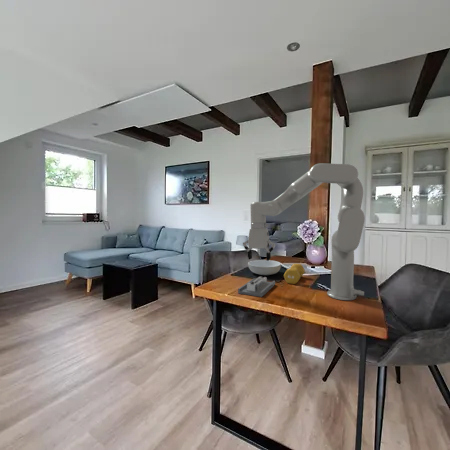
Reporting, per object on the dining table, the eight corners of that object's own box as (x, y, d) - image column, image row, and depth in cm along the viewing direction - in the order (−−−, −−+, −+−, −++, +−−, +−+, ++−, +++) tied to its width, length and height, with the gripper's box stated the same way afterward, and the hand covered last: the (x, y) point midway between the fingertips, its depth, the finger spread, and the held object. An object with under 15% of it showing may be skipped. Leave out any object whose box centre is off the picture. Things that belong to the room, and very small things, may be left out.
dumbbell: (290, 275, 159) (290, 262, 158) (305, 277, 155) (305, 263, 154) (282, 283, 142) (282, 268, 141) (299, 285, 138) (299, 270, 137)
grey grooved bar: (254, 292, 122) (254, 283, 122) (247, 291, 124) (247, 282, 124) (266, 282, 138) (266, 274, 138) (259, 281, 140) (259, 273, 140)
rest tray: (274, 284, 138) (275, 280, 138) (261, 297, 119) (261, 292, 119) (254, 281, 144) (254, 278, 144) (238, 293, 124) (238, 288, 124)
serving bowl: (241, 271, 167) (241, 261, 167) (267, 268, 177) (267, 258, 177) (260, 279, 149) (260, 268, 149) (288, 275, 159) (288, 264, 158)
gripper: (277, 225, 129) (277, 259, 130) (245, 225, 137) (246, 257, 138) (272, 226, 122) (273, 262, 123) (239, 226, 130) (240, 259, 131)
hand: (259, 259), depth 130 cm, fingers open, 9 cm apart
